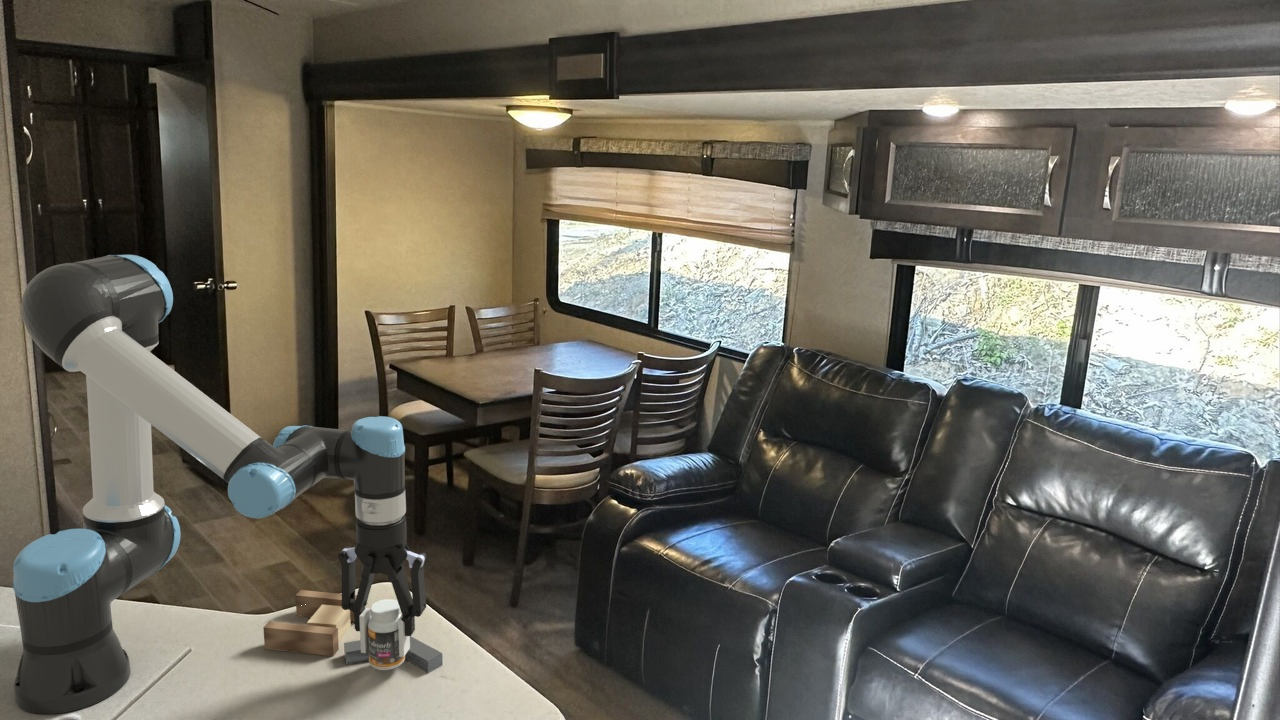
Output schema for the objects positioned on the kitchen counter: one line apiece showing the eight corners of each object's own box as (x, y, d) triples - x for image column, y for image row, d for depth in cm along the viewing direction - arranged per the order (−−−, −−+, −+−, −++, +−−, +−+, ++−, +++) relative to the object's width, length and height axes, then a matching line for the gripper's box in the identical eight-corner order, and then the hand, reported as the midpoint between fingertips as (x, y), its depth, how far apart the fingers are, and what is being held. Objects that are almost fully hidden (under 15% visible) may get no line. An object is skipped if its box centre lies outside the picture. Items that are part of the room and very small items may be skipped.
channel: (264, 648, 151) (263, 627, 150) (301, 610, 164) (300, 589, 163) (333, 656, 150) (332, 634, 149) (365, 616, 163) (364, 596, 162)
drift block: (308, 643, 154) (307, 622, 153) (323, 625, 160) (322, 604, 159) (336, 645, 153) (335, 624, 152) (350, 627, 159) (349, 606, 158)
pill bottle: (362, 669, 145) (359, 612, 142) (379, 650, 150) (377, 595, 148) (395, 673, 144) (393, 617, 141) (411, 654, 149) (409, 599, 147)
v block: (337, 663, 148) (337, 651, 148) (354, 641, 154) (354, 630, 154) (437, 674, 146) (437, 661, 146) (450, 651, 153) (450, 640, 152)
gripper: (312, 521, 138) (319, 657, 143) (431, 531, 136) (433, 669, 141) (334, 502, 145) (340, 632, 150) (447, 511, 143) (449, 643, 148)
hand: (385, 650), depth 146 cm, fingers closed on pill bottle, 6 cm apart
